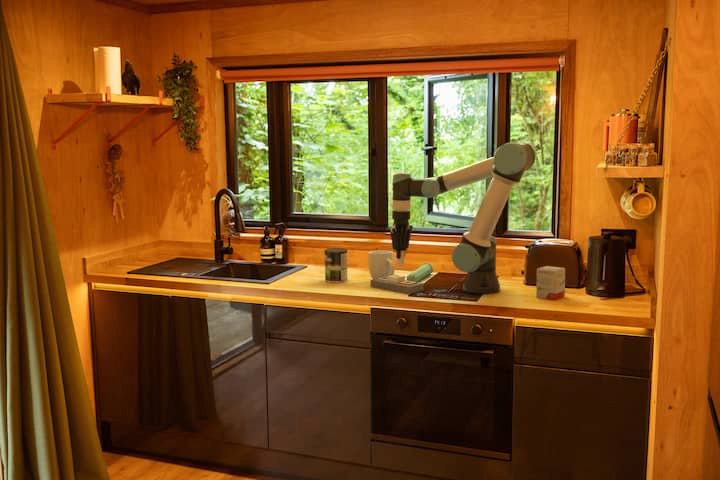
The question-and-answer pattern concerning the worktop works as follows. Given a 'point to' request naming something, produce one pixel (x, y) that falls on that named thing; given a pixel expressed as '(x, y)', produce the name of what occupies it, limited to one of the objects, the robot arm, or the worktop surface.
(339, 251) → the coffee can
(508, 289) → the worktop surface
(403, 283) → the tile terracotta
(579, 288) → the worktop surface
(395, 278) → the tile cream
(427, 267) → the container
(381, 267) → the mug
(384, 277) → the tile sage
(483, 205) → the robot arm
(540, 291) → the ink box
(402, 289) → the socket board
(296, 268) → the worktop surface
